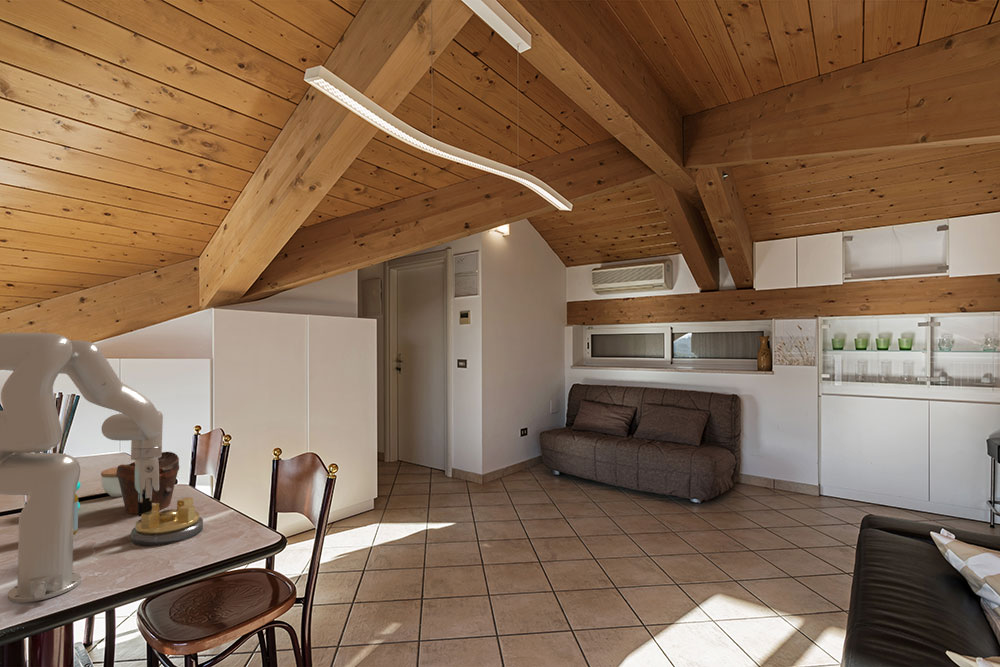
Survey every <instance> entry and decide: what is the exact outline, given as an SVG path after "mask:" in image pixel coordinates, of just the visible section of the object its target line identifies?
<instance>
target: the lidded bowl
mask: <svg viewBox="0 0 1000 667" xmlns="http://www.w3.org/2000/svg"><path fill="white" fill-rule="evenodd" d="M120 465H125V464H123V463H122V464H120ZM117 467H118V466H115V467H111V468H106V469H105V470H102V471H101V472H100V478H101V480H100V481H101V487H102V488H103V490H104V492H105V493H106V494H108V495H109V496H110V497H117V498H118V497H122V492H121V488H120V484H119V480H118V477H116V472H117Z"/></svg>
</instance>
